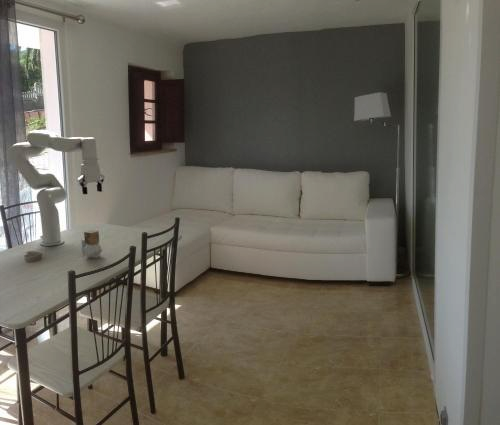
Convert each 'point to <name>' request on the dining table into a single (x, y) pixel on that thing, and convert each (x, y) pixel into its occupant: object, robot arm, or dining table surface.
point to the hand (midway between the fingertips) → (92, 192)
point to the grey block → (83, 244)
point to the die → (92, 250)
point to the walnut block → (91, 237)
